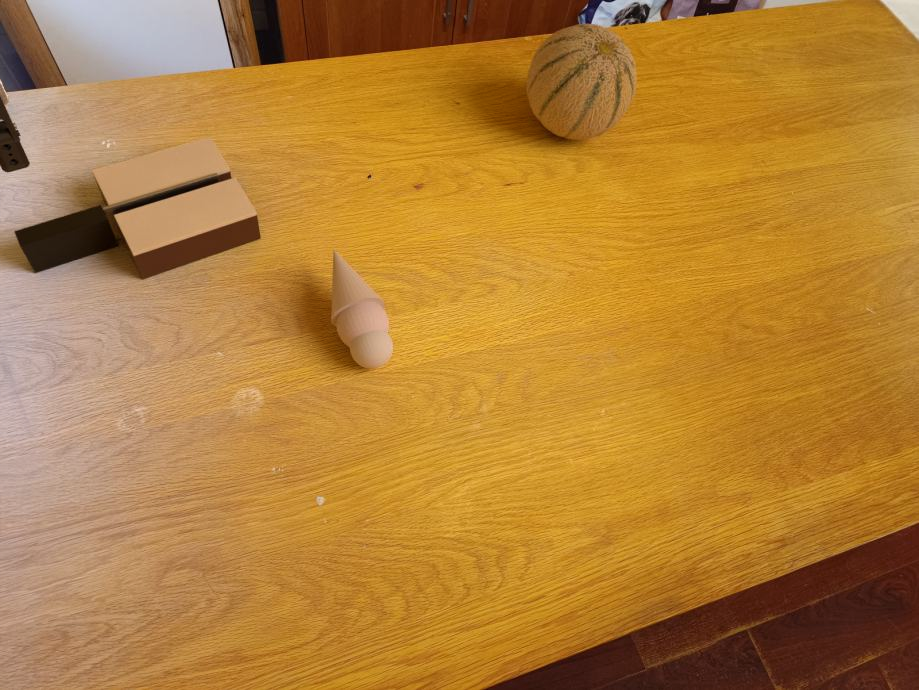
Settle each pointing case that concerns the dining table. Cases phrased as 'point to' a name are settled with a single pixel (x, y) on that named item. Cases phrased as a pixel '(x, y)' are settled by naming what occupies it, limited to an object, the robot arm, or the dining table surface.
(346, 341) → the ice cream cone
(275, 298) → the dining table surface
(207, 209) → the slotted tan block
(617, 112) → the cantaloupe
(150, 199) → the knife
